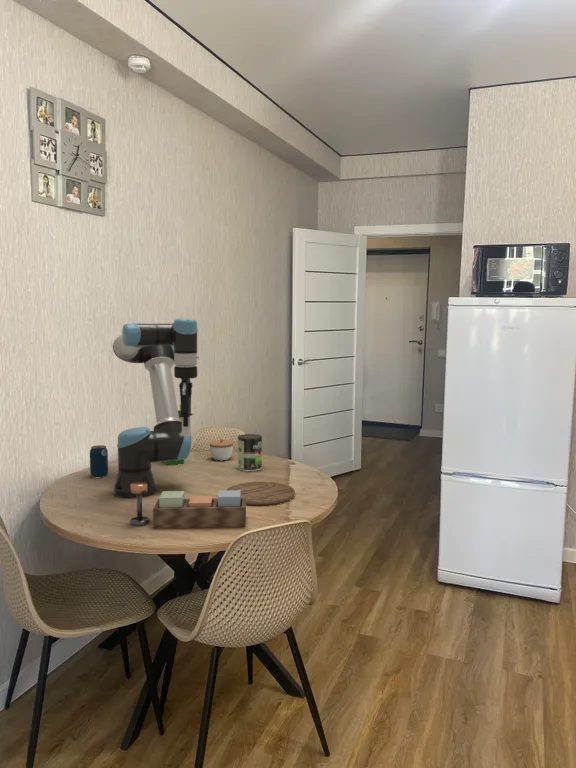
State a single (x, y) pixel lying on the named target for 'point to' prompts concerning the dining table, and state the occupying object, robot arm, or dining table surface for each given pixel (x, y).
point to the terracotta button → (201, 501)
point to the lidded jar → (221, 449)
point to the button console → (199, 516)
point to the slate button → (229, 498)
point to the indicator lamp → (139, 504)
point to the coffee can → (249, 452)
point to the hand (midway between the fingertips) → (186, 435)
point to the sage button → (171, 499)
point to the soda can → (98, 461)
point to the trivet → (264, 493)
